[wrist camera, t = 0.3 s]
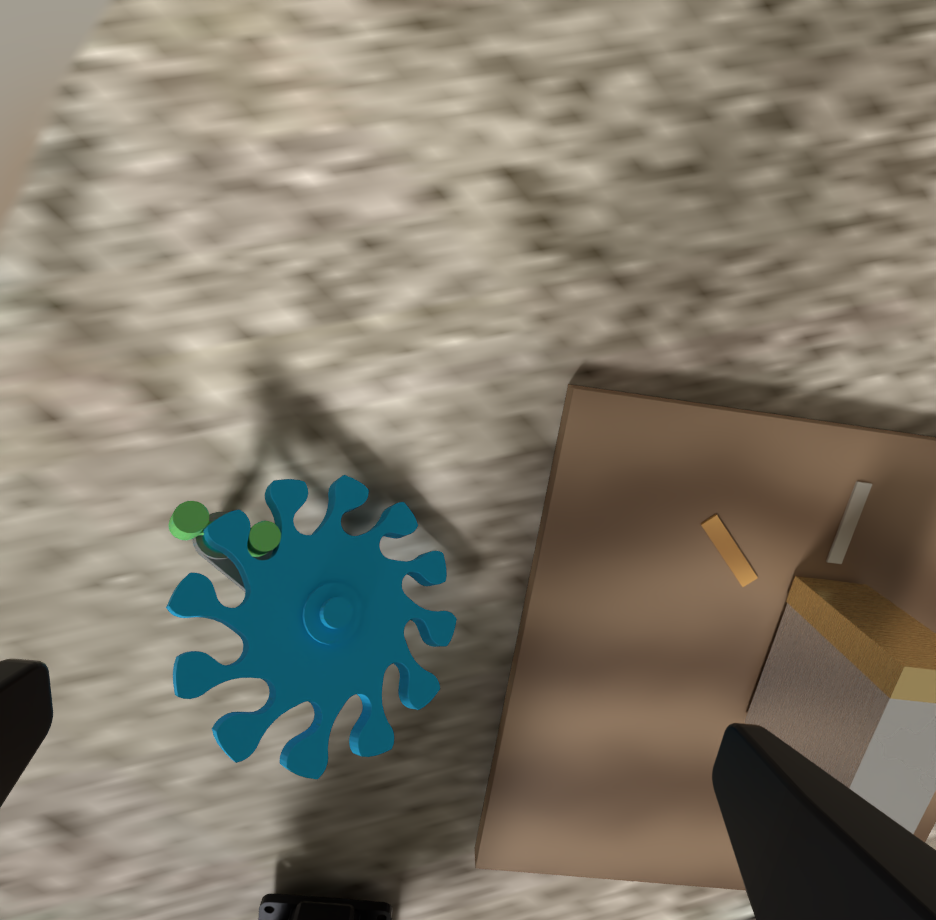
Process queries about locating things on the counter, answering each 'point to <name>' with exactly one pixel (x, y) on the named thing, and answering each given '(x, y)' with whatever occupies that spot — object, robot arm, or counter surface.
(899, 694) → the white box tan top
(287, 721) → the counter surface
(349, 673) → the gear
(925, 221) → the counter surface
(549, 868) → the base
